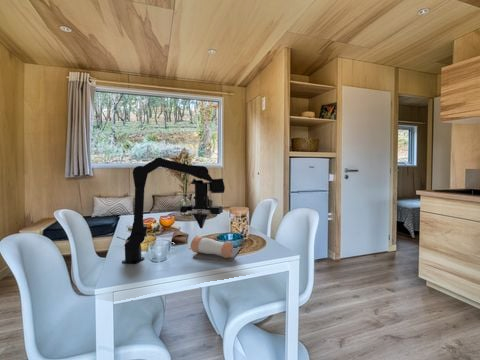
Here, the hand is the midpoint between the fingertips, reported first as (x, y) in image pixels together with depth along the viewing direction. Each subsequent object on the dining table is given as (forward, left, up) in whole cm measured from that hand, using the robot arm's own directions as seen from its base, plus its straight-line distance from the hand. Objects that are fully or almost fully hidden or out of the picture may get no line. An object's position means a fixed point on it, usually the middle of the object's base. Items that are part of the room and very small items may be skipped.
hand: (201, 228), depth 117 cm
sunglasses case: (+17, +19, -12) cm, 29 cm away
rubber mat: (+2, -8, -11) cm, 14 cm away
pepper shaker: (-1, +3, -7) cm, 8 cm away
